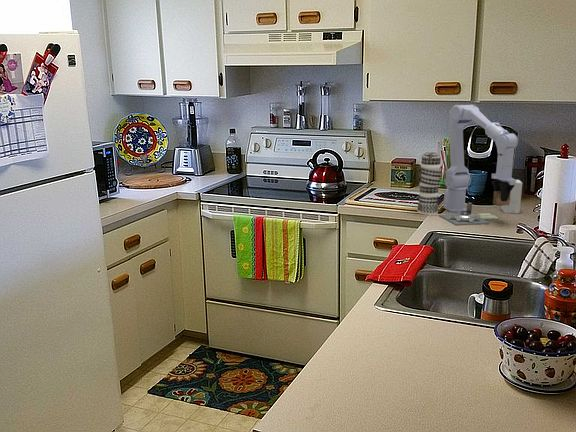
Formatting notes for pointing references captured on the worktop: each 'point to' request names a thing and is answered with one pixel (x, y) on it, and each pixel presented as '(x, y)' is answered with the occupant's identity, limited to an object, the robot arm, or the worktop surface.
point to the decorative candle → (429, 183)
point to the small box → (514, 199)
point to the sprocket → (465, 214)
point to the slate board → (463, 221)
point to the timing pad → (487, 216)
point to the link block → (498, 201)
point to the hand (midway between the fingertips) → (501, 199)
